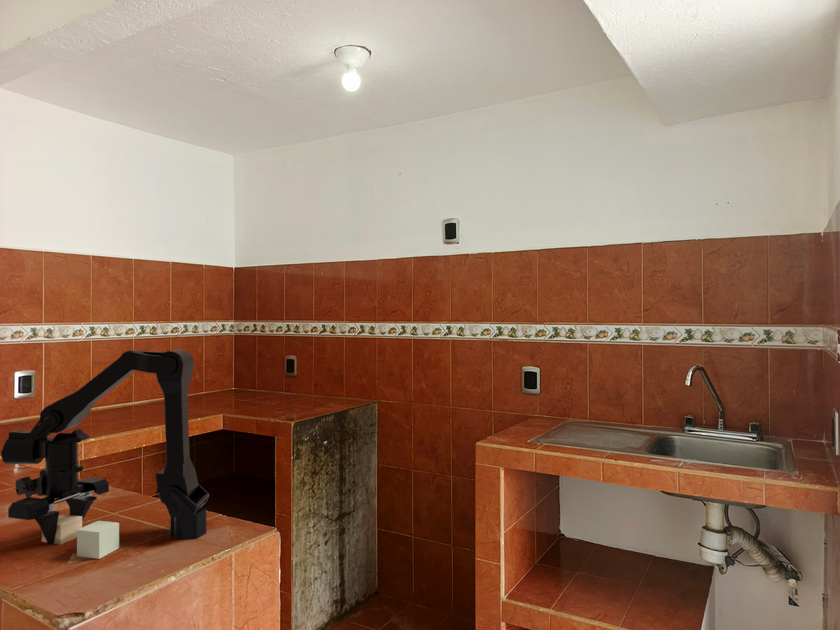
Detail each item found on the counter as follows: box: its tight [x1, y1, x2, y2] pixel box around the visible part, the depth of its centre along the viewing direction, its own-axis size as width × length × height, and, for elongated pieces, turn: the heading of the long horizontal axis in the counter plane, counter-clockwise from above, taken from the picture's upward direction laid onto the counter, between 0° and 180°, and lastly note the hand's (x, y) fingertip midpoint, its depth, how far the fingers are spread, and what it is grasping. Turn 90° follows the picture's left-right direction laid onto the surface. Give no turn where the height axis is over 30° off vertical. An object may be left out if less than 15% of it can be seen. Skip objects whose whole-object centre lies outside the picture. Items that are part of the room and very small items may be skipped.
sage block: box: [76, 520, 120, 560], centre depth 108 cm, size 5×5×5 cm
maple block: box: [41, 513, 83, 545], centre depth 116 cm, size 5×5×5 cm
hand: (62, 538), depth 116 cm, fingers closed on maple block, 5 cm apart
